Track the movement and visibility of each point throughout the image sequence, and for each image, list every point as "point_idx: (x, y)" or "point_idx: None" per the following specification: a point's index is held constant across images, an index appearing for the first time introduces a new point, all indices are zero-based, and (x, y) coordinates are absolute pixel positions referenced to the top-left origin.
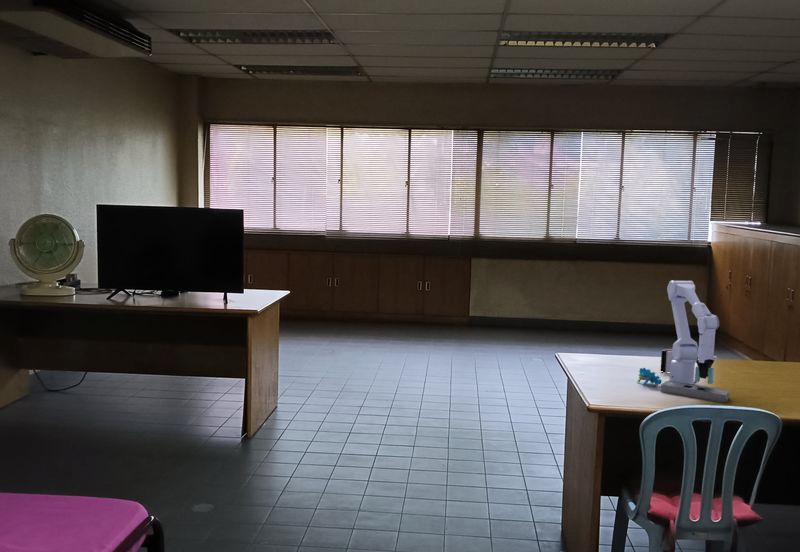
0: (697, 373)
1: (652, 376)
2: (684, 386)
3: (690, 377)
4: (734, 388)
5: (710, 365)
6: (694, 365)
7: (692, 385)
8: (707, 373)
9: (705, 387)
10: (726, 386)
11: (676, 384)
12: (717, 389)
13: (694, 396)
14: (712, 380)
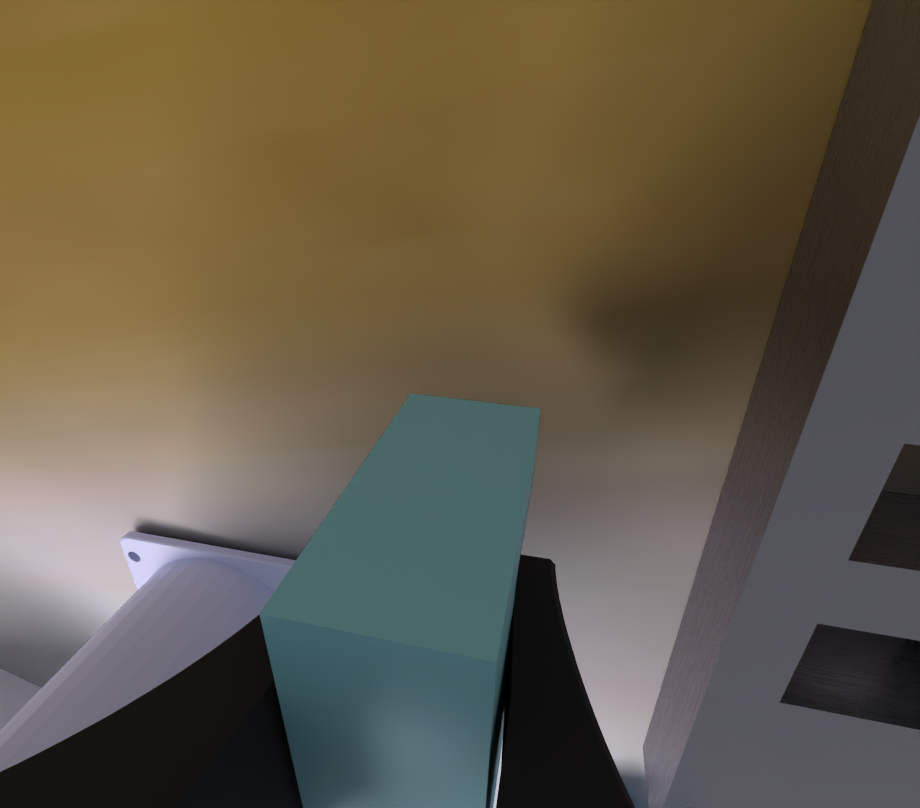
0: (501, 733)
1: None
2: (855, 708)
3: (233, 631)
4: (11, 74)
5: (220, 768)
6: (39, 751)
7: (760, 634)
8: (508, 628)
9: (816, 469)
10: (16, 208)
11: (815, 784)
12: (912, 244)
13: None
14: (446, 426)
